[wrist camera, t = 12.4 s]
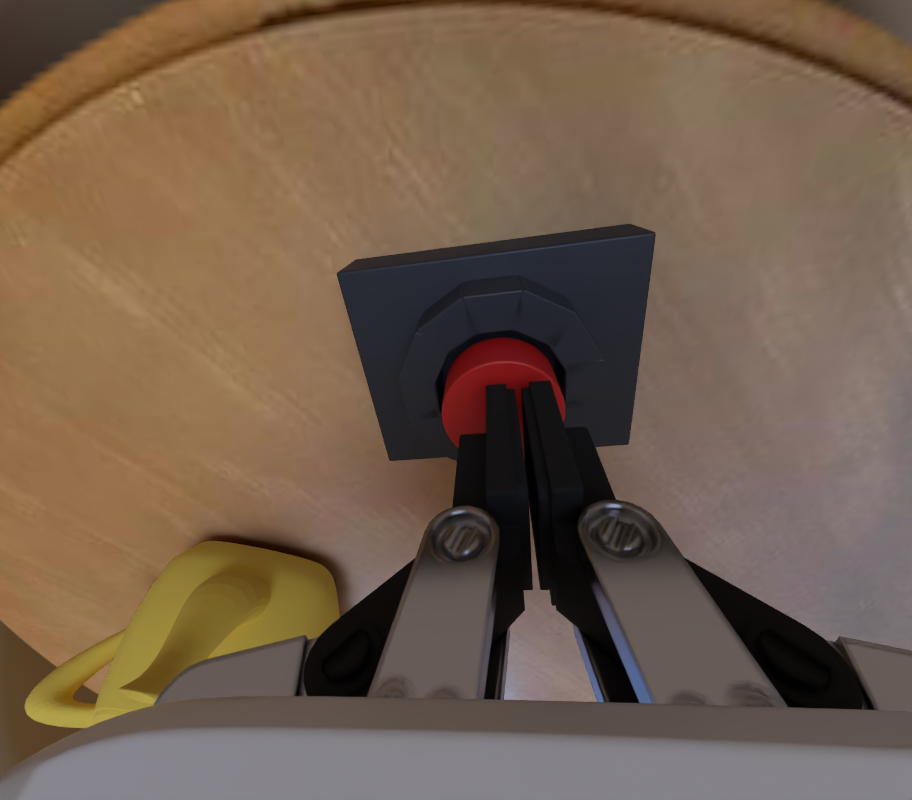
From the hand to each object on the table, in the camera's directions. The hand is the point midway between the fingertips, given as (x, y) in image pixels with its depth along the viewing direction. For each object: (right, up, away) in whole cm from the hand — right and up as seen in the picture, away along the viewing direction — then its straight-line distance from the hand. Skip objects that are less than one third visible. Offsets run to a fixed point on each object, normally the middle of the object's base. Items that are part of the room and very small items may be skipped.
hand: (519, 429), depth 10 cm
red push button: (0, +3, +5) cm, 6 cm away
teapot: (-14, -11, +15) cm, 23 cm away
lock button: (0, +1, +2) cm, 3 cm away
